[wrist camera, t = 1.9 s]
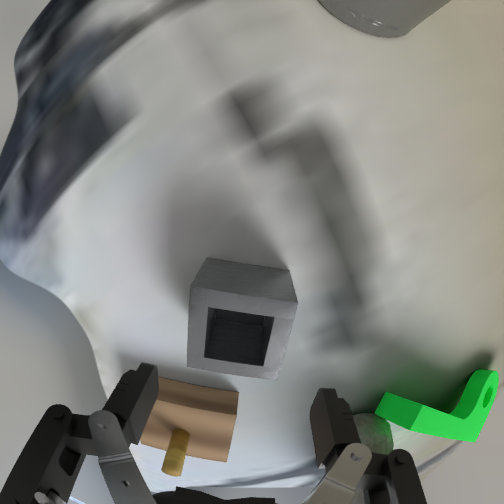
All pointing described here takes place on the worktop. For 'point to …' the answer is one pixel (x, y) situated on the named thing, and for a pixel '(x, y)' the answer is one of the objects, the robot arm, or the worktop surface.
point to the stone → (372, 441)
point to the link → (237, 333)
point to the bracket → (439, 423)
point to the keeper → (190, 423)
